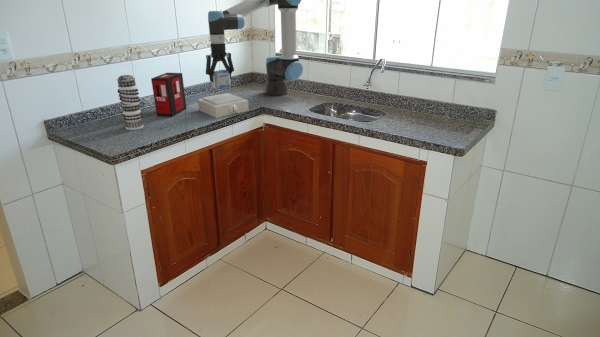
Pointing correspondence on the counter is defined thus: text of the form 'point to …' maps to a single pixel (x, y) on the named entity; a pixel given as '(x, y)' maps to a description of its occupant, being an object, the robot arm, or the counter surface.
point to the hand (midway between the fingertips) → (221, 86)
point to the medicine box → (221, 78)
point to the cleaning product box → (169, 94)
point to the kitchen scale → (222, 105)
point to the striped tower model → (130, 102)
